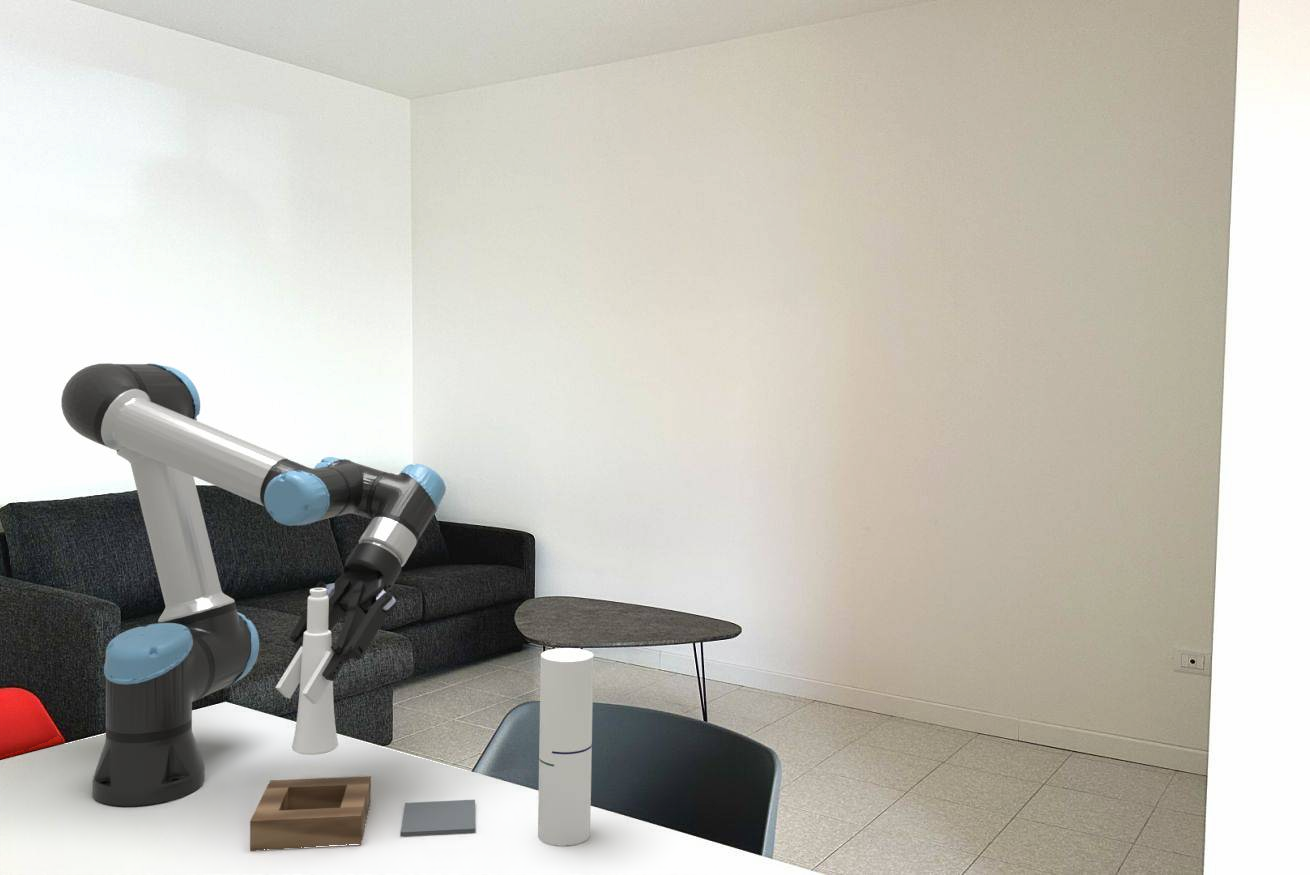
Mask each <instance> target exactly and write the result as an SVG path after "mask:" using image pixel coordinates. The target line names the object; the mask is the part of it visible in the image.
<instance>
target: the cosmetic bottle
mask: <svg viewBox="0 0 1310 875" xmlns="http://www.w3.org/2000/svg"><path fill="white" fill-rule="evenodd" d="M326 593H327V589H325V588H316V587H314V588H310V589H309V594H310V595H309V596H308V597H307V607H306V608H307V631H305V632H304V636H303V648H302V661H301V677H300V683H299V693H298V694H299V695H298V706H297V716H296V723H295V729H294V736H293V741H292V745H291V748H292V751H293V752H295V753H296V754H300V755H306V756H307V755H308V756H313V755H314V756H315V755H322V754H327V753H330V752H332V751H334V750H336V749H337V748H338V747H339V742H338V734H337V729H336V718H335V707H334V703H335V702H334V701H335V700H334V680H333V681H330V682H329V684H328V685H327V687H326V689H325V690H324V692H323V694H322V695H321V697H320V699H319V701H318V702H317V704H313V703H311V702H310V701H309V700H308V699H307V698H306V697H305V696H304V695H303V694H302V692H303V690H304V689H305V687H306V685H307V684H308V682H309V680H310V679H311V677H312V675H313V674H314V672H315V670H316V669H317V667H318V665H319V664H320V662H321V660H322V659H323V657H324V655H325V654H326V652H327V651H330V652H332V653H333V650H332V649H331V646H332V647H333V645H332V644H333V643H332V630H331V631H330V630H328V615H329V597H328V596H327V595H326Z"/></svg>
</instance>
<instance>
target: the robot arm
mask: <svg viewBox="0 0 1310 875" xmlns="http://www.w3.org/2000/svg"><path fill="white" fill-rule="evenodd" d="M61 410H62V414H63V416H64V418H65V420H66V423H68V425H69V426H70V427H71V428H72V429H73V430H74V432H76V433H77V434H79V435H80V436H82V437H85V438H86V439H88V440H90V441H92V442H94V443H96V444H99V445H102V446H104V447H106V448H108V449H111V450H114V451H116V455H117V456H119V457H121V458H123V459H124V460H125V461H128V462H129V464H130V467H131V472H132V475H133V480H134V484H135V488H136V492H137V495H138V500H139V504H140V508H141V512H142V516H143V520H144V524H145V527H146V528H145V529H146V532H147V536H148V539H149V544H150V549H151V553H152V557H153V560H154V561H153V562H154V564H155V569H156V573H157V577H158V581H159V584H160V588H161V593H162V597H163V601H164V605H165V608H164V610H163V612H162V613H161V615H160V616H159V618H158V620H157V621H158V623H151V624H150V623H149V624H147V625H146V626H136V627H133V628H131V629H128V630H125V631H123V632H121V633H120V634H118V635H116V636H115V637H114V638H112V639H111V640H110V641H109V643H108V645H107V646H106V650H105V661H104V665H103V674H104V701H105V702H104V705H105V706H104V707H105V709H104V711H105V712H104V713H105V714H104V715H105V740H104V741H105V743H104V745H103V748H102V751H101V754H100V757H99V760H98V762H97V765H96V769H95V771H94V774H93V777H92V797H93V798H94V799H95V800H96V801H97V802H99V803H102V804H107V805H111V806H119V807H135V806H148V805H153V804H154V805H155V804H160V803H164V802H168V801H172V800H176V799H179V798H181V797H184V796H186V795H188V794H191V793H192V792H196V790H198V789H200V788H201V787H202V785H203V784H204V783H205V781H206V780H205V775H206V774H205V770H206V769H205V763H204V760H203V757H202V755H201V751H200V749H199V747H198V744H197V741H196V739H195V736H194V733H193V726H192V724H193V720H192V719H193V714H192V713H193V709H192V708H193V702H196V701H197V700H200V699H203V698H204V697H206V696H208V695H210V694H213V693H215V692H218V691H221V690H225V689H227V688H230V687H231V686H233V685H234V684H235V683H237V682H238V681H241V680H242V679H244V677H246V676H247V675H248V674H249V673H250V672H251V671H252V669H253V667H254V666H255V664H256V663H257V659H258V656H259V651H260V638H259V634H258V631H257V628H256V626H255V624H254V623H253V622H252V620H250V619H248V618H246V615H244V614H242V613H241V612H238V609H237V605H236V602H235V599H234V598H232V597H230V596H229V595H227V594H226V593H224V592H223V591H222V587H221V582H220V580H219V575H218V571H217V567H216V562H215V559H214V554H213V552H212V551H213V550H212V547H211V542H210V538H209V534H208V530H207V526H206V522H205V517H204V514H203V510H202V506H201V502H200V497H199V493H198V489H197V486H196V481H195V478H197V479H199V480H202V481H203V482H206V483H209V484H211V485H214V486H216V487H218V488H221V489H223V490H226V491H228V492H230V493H232V494H234V495H237V496H239V497H241V498H244V499H246V500H248V501H251V502H253V503H256V504H258V505H260V506H263V507H264V508H265V509H266V511H267V513H268V514H269V515H270V517H271V518H272V519H273V520H274V521H275V522H277V523H279V524H280V525H284V526H290V527H291V526H306V525H311V524H312V523H313V524H314V523H315V522H319V521H323V520H326V519H330V518H334V517H339V516H343V515H348V514H354V515H357V516H361V517H364V518H367V519H370V520H371V521H370V522H369V524H368V525H367V527H366V528H365V530H364V532H363V534H362V535H361V536H360V538H359V540H358V544H356V545H355V547H353V549H352V551H351V553H350V555H349V556H348V558H347V559H346V560H345V564H344V570H343V573H342V574H341V575H340V576H339V577H338V578H337V579H336V580H335V582H334V583H328V584H326V582H324V581H319V582H318V583H317V584H316V586H315V588H325V589H327V593H326V595H327V596H328V597H329V615H328V630H330V631H331V632H332V630H333V629H334V627H335V626H336V624H337V623H338V622H339V621H340V620H341V619H343V618H345V617H346V618H345V620H344V622H343V624H342V627H341V630H340V632H339V635H338V637H337V639H336V643H335V644H334V645H332V646H331V649H332V652H330V651H327V652H326V654H325V655H324V657H323V659H322V660H321V662H320V664H319V665H318V667H317V669H316V670H315V672H314V674H313V675H312V677H311V679H310V680H309V682H308V684H307V685H306V687H305V689H304V690H303V692H302V694H303V695H304V696H305V697H306V698H307V699H308V700H309V701H310V702H311V703H313V704H317V702H318V701H319V699H320V697H321V695H322V694H323V692H324V690H325V689H326V687H327V685H328V684H329V682H330V681H333V682H334V680H335V679H336V678H337V676H338V674H339V673H340V671H341V669H342V667H343V666H344V664H346V662H348V661H349V660H352V659H354V660H356V661H358V660H359V661H360V660H361V659H362V658H363V656H364V654H365V653H366V651H367V650H368V648H369V647H370V645H371V643H372V642H373V640H374V638H375V636H376V635H377V634H378V631H379V630H380V628H381V627H382V626H383V623H384V622H385V621H386V619H387V617H388V615H390V614H391V613H392V612H393V611H394V610H395V609H396V608H397V607H398V605H399V603H398V601H397V600H396V598H394V596H393V595H392V594H391V592H390V591H389V590H390V589H392V588H393V585H394V584H395V582H396V581H397V579H398V577H399V575H400V574H401V572H402V567H404V566H405V565H406V563H407V561H408V559H409V557H410V556H411V554H412V552H413V551H414V549H415V547H416V545H417V544H418V543H419V540H420V539H421V536H422V535H423V533H424V532H425V530H426V528H427V527H428V525H429V523H430V522H431V520H432V518H433V517H434V515H435V514H436V513H437V512H438V508H439V506H440V504H441V502H442V500H443V498H444V496H445V493H446V491H447V490H446V488H447V487H446V484H445V481H444V480H443V478H442V477H441V476H440V474H438V472H437V471H435V470H433V469H432V468H431V467H428V466H427V465H424V464H420V463H415V464H413V463H411V464H410V463H409V464H407V465H406V466H405V467H404V468H403V469H402V470H401V471H400V472H399V473H398V474H395V473H392V472H386V471H383V470H379V469H377V468H373V467H371V466H367V465H363V464H360V463H358V462H354V461H351V460H350V459H346V458H343V459H342V458H338V457H334V456H326V457H323V458H322V459H321V460H320V462H318V463H316V465H315V466H314V467H313V468H311V467H309V466H305V465H303V464H301V463H298V462H296V461H293V460H292V459H288V458H287V457H285V456H282V455H280V454H277V453H275V452H272V451H270V450H267V449H265V448H264V447H260V446H259V445H256V444H253V443H251V442H248V441H246V440H244V439H241V438H239V437H237V436H234V435H232V434H229V433H227V432H224V431H222V430H219V429H218V428H214V427H213V426H210V425H208V424H206V423H203V422H201V421H198V419H197V417H198V416H199V415H200V412H201V399H200V395H199V392H198V389H197V387H196V386H195V384H194V382H193V381H192V380H191V379H190V377H189V376H187V375H186V374H185V373H184V372H181V370H179V369H177V368H175V367H171V366H167V365H161V364H157V363H151V362H150V363H139V364H138V363H137V364H136V363H134V364H133V363H124V364H123V363H110V362H109V363H97V364H96V363H95V364H92V365H88V366H85V367H84V368H82V369H80V370H78V371H77V372H75V373H74V374H73V375H72V376H71V378H70V379H68V381H67V382H66V383H65V386H64V388H63V390H62V395H61ZM305 631H307V607H306V608H305V610H304V612H303V613H302V615H301V617H300V619H299V620H298V622H297V623H296V626H295V627H294V629H293V631H292V632H291V634H290V635H289V639H290V641H291V642H292V643H293V644H294V645H295V646H296V648H295V650H294V651H293V653H292V654H291V656H290V658H289V660H288V661H287V662H286V666H285V668H286V669H285V671H284V673H283V675H282V676H281V678H280V679H279V681H278V682H277V684H276V686H275V689H276V690H277V691H278V692H280V694H281V695H282V696H283V697H284V698H286V699H291V698H292V696H293V694H294V693H295V691H296V689H297V688H298V686H299V685H300V677H301V661H302V648H303V636H304V632H305Z"/></svg>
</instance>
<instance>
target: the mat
mask: <svg viewBox="0 0 1310 875" xmlns="http://www.w3.org/2000/svg"><path fill="white" fill-rule="evenodd" d="M456 834H458V835H460V834H476V799H458V800H457V799H456V800H439V801H438V800H435V801H416V802H414V801H413V802H405V803H404V807H403V814H402V821H401V827H400V836H404V837H421V836H436V835H439V836H440V835H442V836H443V835H456ZM400 836H399V837H400Z"/></svg>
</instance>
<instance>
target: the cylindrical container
mask: <svg viewBox="0 0 1310 875" xmlns="http://www.w3.org/2000/svg"><path fill="white" fill-rule="evenodd" d="M539 678H540V680H539V681H540V682H539V683H540V684H539V685H540V686H539V687H540V688H539V692H540V693H539V696H540V697H539V743H538V744H539V746H538V747H539V749H538V750H539V751H538V752H539V753H538V756H539V757H538V804H537V806H538V808H537V809H538V810H537V812H538V815H537V816H538V817H537V819H538V820H537V838H538V839H539V840H540V841H541V842H543V843H545V844H547V845H550V846H556V847H557V845H558V847H567V846H566V845H571V846H574V845H575V844H576V845H579V844H582V843H584V842H586V841H587V840H588V839H589V838H590V837H589V836H591V810H592V809H591V808H592V807H591V806H592V800H591V799H592V796H591V794H592V750H593V748H592V747H593V746H592V745H593V744H592V742H593V703H594V702H593V701H594V700H593V699H594V696H593V695H594V694H593V693H594V692H593V691H594V652H592V651H590V650H587V649H582V648H576V647H575V648H574V647H562V648H561V647H560V648H552V649H548V650H545V651H543V652H541V654H540V677H539Z"/></svg>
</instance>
